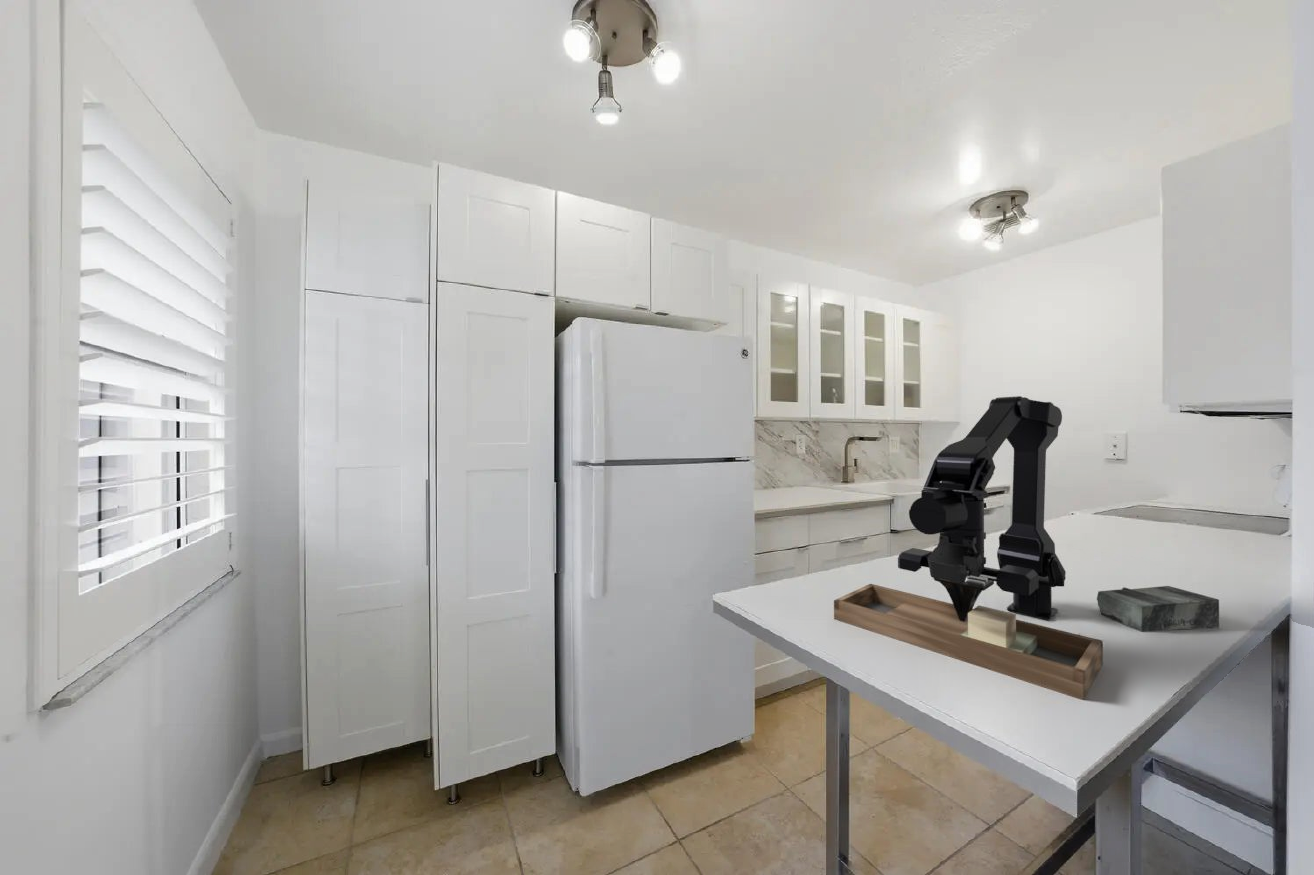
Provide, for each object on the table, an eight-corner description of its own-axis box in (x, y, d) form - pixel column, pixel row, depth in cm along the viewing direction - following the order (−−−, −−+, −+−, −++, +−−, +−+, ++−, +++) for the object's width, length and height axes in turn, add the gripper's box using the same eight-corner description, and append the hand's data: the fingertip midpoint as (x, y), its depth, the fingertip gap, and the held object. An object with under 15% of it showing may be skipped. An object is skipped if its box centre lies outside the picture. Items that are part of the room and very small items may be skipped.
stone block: (1090, 613, 89) (1090, 585, 89) (1162, 610, 90) (1161, 582, 90) (1141, 633, 80) (1141, 602, 80) (1221, 629, 81) (1220, 599, 81)
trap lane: (870, 600, 97) (870, 583, 97) (1102, 664, 70) (1102, 640, 70) (834, 618, 88) (833, 600, 88) (1083, 699, 61) (1083, 673, 61)
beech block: (979, 629, 78) (978, 605, 78) (1016, 639, 74) (1015, 614, 74) (968, 638, 75) (967, 613, 75) (1005, 649, 71) (1005, 622, 71)
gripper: (882, 525, 79) (883, 616, 80) (1017, 545, 65) (1018, 657, 65) (911, 516, 86) (912, 600, 87) (1039, 533, 72) (1039, 634, 72)
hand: (963, 620), depth 77 cm, fingers closed
